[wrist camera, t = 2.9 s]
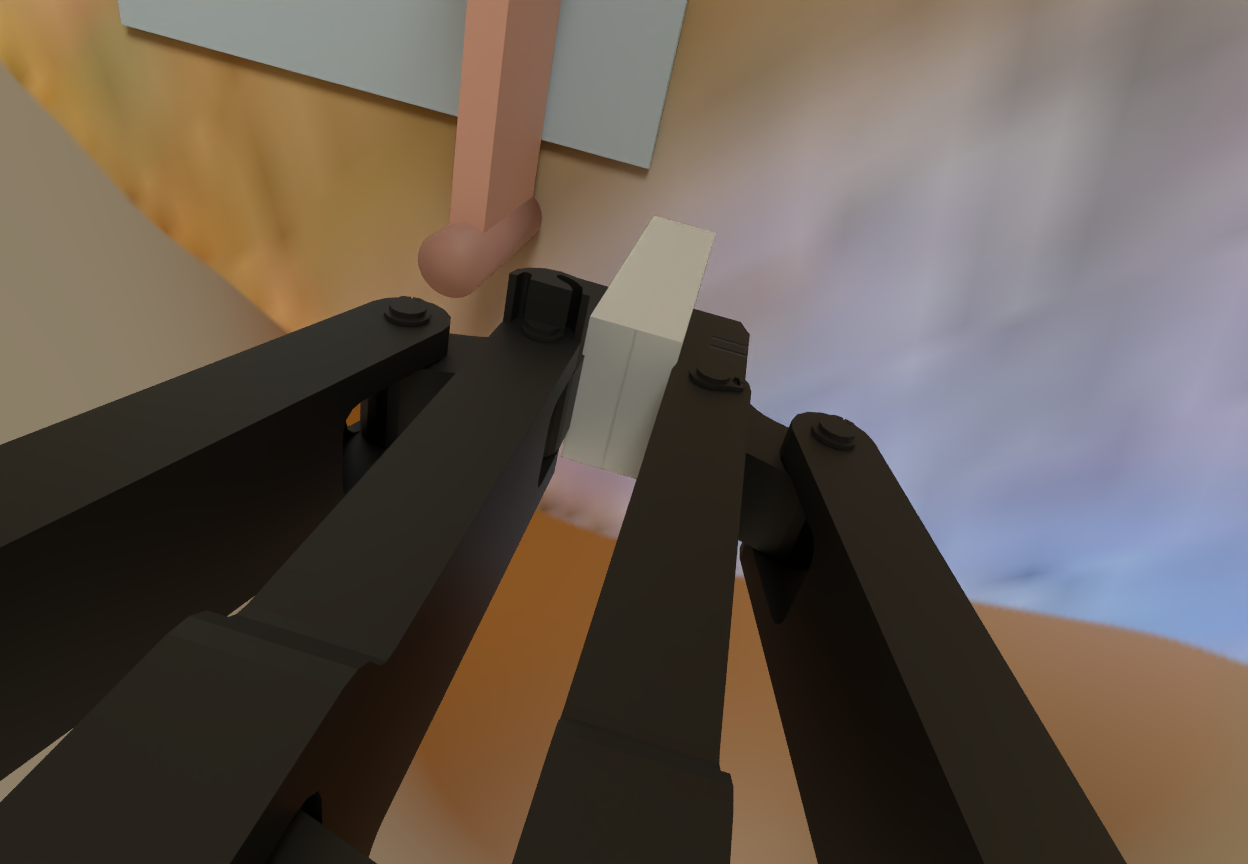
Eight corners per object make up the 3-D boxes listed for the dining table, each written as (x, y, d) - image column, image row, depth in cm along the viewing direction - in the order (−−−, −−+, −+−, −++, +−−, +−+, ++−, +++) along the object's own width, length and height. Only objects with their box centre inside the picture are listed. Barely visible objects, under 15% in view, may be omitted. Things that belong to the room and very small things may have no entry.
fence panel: (529, -149, 19) (444, -199, 14) (595, -133, 19) (531, -178, 14) (487, 233, 24) (416, 287, 20) (537, 247, 24) (478, 305, 20)
